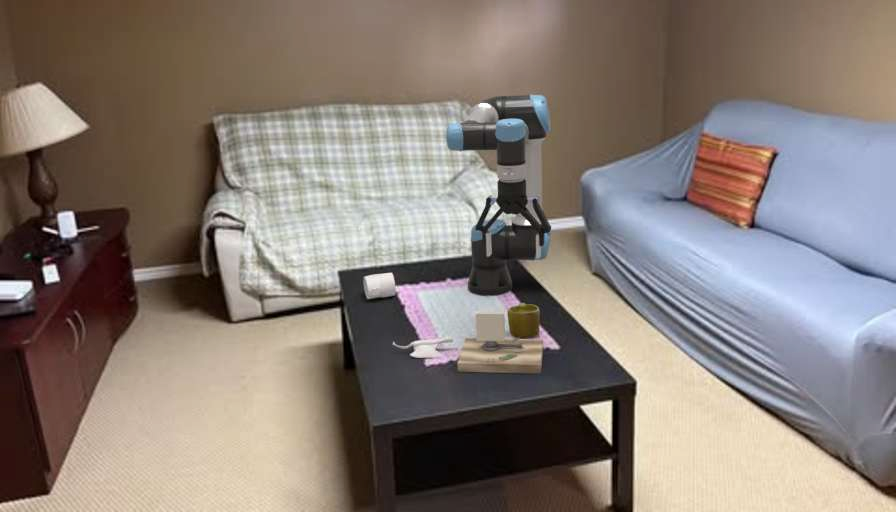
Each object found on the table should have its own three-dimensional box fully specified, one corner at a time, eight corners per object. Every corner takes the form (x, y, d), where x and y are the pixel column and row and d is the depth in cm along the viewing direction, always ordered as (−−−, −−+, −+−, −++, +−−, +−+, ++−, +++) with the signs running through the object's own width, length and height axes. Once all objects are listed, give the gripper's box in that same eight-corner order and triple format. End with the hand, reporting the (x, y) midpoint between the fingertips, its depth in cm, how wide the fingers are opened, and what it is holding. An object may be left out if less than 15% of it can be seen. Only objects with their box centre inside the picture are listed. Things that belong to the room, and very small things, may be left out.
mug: (544, 336, 219) (533, 303, 219) (510, 345, 222) (499, 312, 222) (550, 327, 231) (540, 296, 231) (517, 336, 234) (508, 304, 234)
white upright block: (478, 343, 216) (477, 308, 212) (522, 344, 214) (521, 309, 210) (476, 351, 211) (475, 315, 208) (521, 352, 209) (520, 316, 206)
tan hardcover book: (465, 346, 220) (465, 337, 220) (543, 347, 217) (543, 338, 216) (457, 371, 205) (457, 361, 205) (540, 373, 202) (540, 363, 201)
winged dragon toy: (390, 362, 214) (389, 348, 212) (390, 347, 223) (389, 334, 222) (455, 357, 214) (454, 344, 213) (452, 342, 224) (451, 329, 223)
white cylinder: (396, 299, 258) (395, 277, 256) (369, 303, 256) (367, 281, 254) (389, 288, 269) (388, 266, 267) (363, 291, 267) (361, 270, 265)
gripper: (462, 181, 202) (465, 258, 208) (556, 183, 195) (557, 262, 201) (469, 175, 209) (472, 249, 215) (561, 176, 201) (561, 253, 208)
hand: (513, 256), depth 208 cm, fingers open, 13 cm apart
